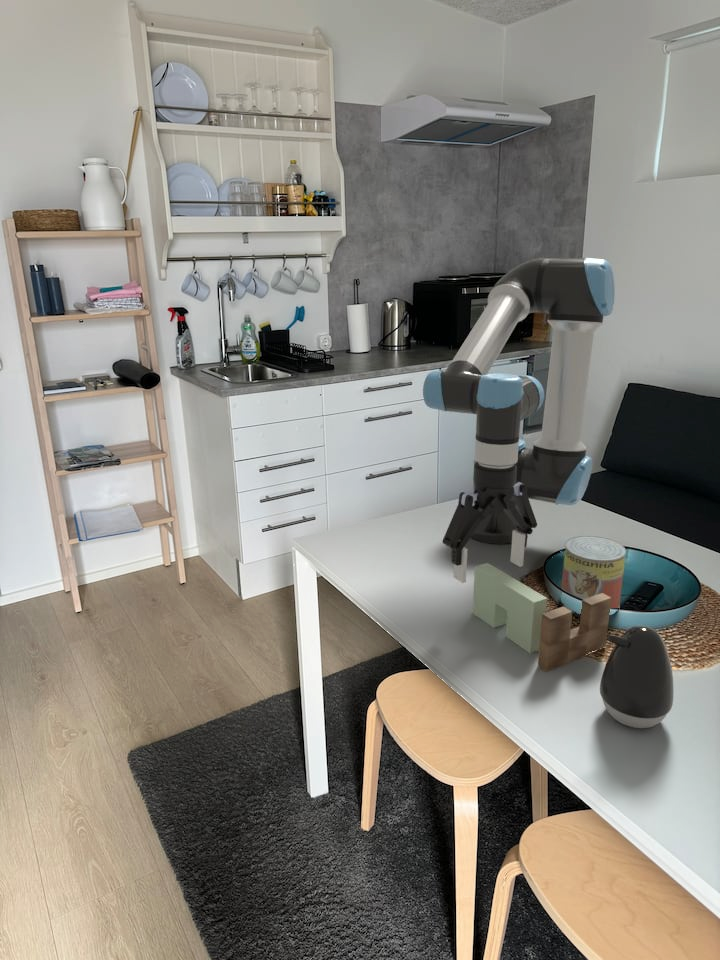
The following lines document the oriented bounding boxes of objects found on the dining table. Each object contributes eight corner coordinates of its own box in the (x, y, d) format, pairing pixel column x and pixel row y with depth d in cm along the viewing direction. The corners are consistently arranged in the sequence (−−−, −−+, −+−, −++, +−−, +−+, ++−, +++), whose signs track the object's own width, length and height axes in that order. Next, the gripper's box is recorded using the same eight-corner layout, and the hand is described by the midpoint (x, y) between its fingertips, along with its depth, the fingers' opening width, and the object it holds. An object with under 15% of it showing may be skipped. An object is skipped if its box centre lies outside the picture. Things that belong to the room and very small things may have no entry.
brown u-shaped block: (596, 642, 124) (602, 592, 120) (605, 648, 122) (611, 597, 119) (537, 665, 117) (542, 613, 114) (546, 671, 116) (550, 619, 112)
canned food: (551, 606, 136) (556, 551, 132) (570, 584, 145) (575, 531, 141) (610, 623, 130) (617, 565, 126) (626, 598, 139) (633, 544, 135)
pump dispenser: (585, 697, 109) (594, 612, 104) (648, 693, 110) (661, 608, 105) (612, 741, 99) (625, 650, 94) (682, 736, 100) (698, 645, 95)
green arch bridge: (484, 609, 135) (487, 562, 132) (542, 648, 122) (547, 598, 119) (472, 613, 134) (474, 566, 131) (530, 653, 121) (534, 602, 118)
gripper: (533, 448, 131) (525, 550, 138) (425, 467, 120) (422, 578, 126) (562, 457, 125) (552, 564, 132) (451, 479, 114) (446, 595, 120)
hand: (488, 571), depth 129 cm, fingers open, 13 cm apart
